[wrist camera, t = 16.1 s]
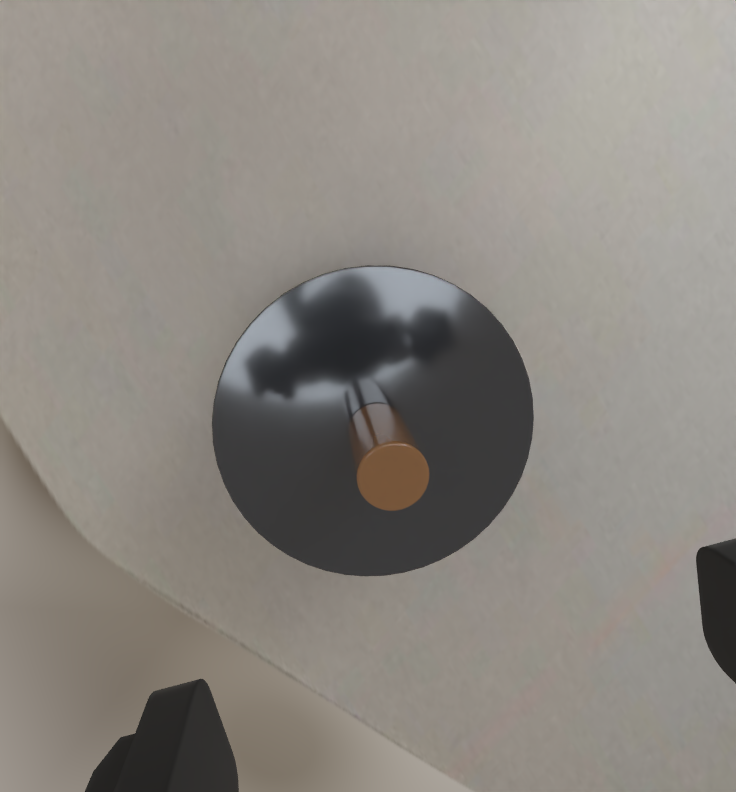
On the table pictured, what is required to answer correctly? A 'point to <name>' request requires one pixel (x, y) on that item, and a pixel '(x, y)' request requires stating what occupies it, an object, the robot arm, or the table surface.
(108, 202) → the table surface
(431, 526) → the lid
